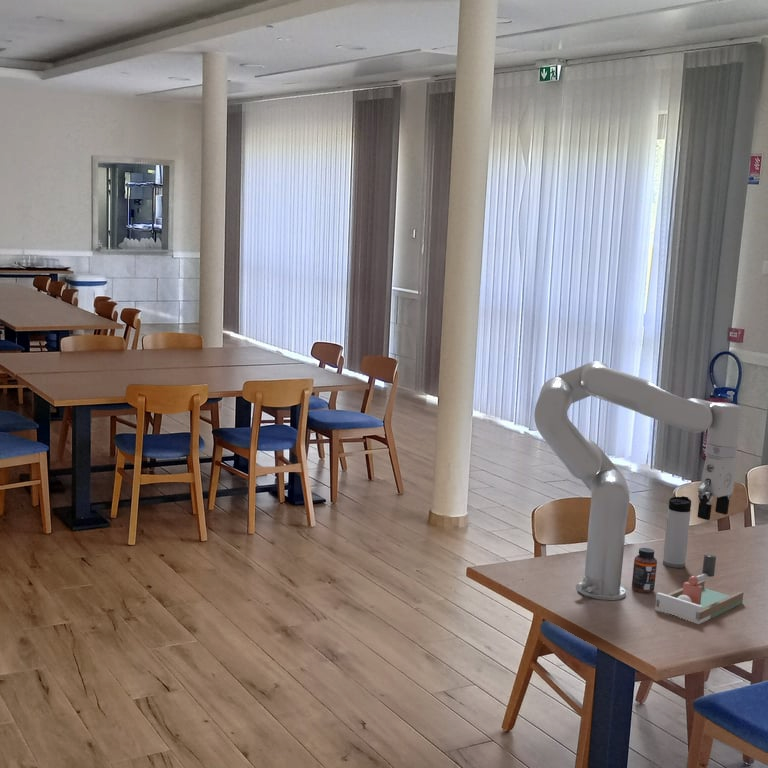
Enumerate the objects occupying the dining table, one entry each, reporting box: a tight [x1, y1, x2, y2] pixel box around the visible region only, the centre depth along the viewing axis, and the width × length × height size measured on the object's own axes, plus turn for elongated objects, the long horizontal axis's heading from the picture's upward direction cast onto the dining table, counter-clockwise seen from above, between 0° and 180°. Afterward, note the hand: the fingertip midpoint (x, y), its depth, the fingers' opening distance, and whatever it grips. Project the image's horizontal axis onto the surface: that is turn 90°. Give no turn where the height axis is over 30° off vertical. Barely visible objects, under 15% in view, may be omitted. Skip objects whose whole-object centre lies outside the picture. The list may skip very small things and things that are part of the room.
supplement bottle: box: [631, 547, 658, 594], centre depth 275 cm, size 6×6×11 cm
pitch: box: [654, 580, 744, 625], centre depth 266 cm, size 24×12×4 cm, turn 136°
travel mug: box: [662, 495, 692, 569], centre depth 299 cm, size 6×7×20 cm
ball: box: [678, 595, 692, 603], centre depth 259 cm, size 4×4×4 cm
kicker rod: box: [682, 553, 717, 605], centre depth 264 cm, size 11×4×12 cm, turn 136°
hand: (712, 515), depth 265 cm, fingers open, 9 cm apart
